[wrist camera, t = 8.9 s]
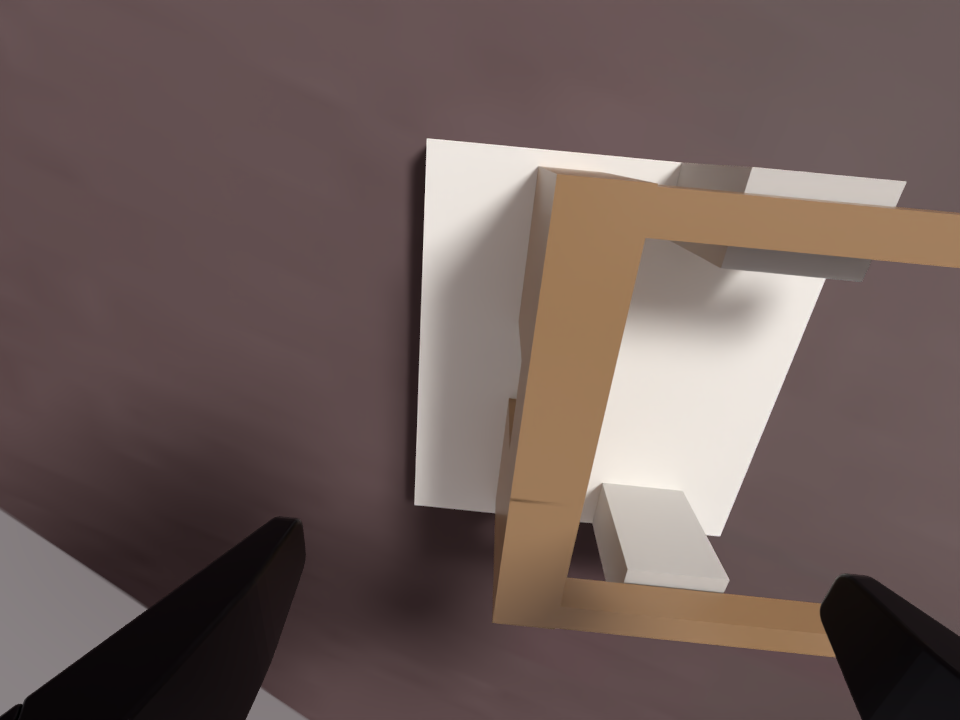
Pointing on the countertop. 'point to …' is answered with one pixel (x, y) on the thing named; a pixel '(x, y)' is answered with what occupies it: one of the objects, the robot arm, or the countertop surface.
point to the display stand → (642, 356)
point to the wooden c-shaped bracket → (589, 373)
